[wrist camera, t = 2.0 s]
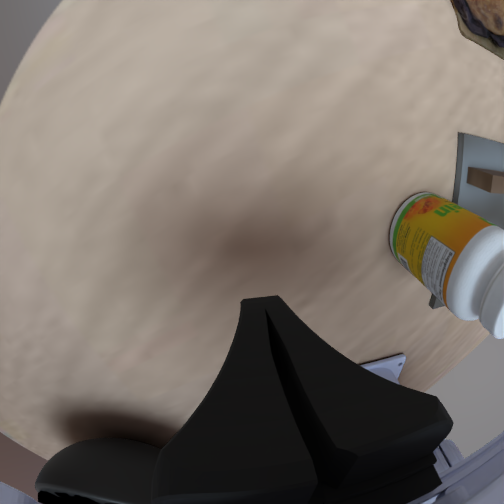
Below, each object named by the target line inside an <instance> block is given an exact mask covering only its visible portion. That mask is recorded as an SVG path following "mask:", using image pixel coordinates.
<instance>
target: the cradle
mask: <svg viewBox="0 0 504 504" xmlns="http://www.w3.org/2000/svg"><path fill="white" fill-rule="evenodd" d="M453 203H455V204H457V205H459V206H461V207H463V208H464V209H466V210H468V211H470V212H472V213H474V214H476V215H478V216H480V217H482V218H484V219H485V220H487V221H489V222H491V223H493V224H495V225H497V226H498V227H500V228H501V229H503V230H504V144H503V143H499V142H496V141H492V140H488V139H485V138H481V137H477V136H473V135H469V134H464V133H459V132H458V153H457V167H456V177H455V186H454V194H453ZM429 306H430V307H431V308H432V309H435V308H439V307H442V306H445V305H444V304H443V303H442V302H441V301H440V300H439V299H438V298H437V297H436V296H435V295H434V294H432V297H431V301H430V304H429Z"/></svg>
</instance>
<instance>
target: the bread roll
mask: <svg viewBox="0 0 504 504" xmlns="http://www.w3.org/2000/svg"><path fill="white" fill-rule="evenodd" d="M451 1H452V3H453V8H454V10H455V14H456V16H457V21H458V26H459V30H460V32H461V34H462V35H463V36H464V37H465V38H467V39H469V40H471V41H473V42H475V43H476V44H479V45H480V46H482V47H484V48H485V49H487V50H489V51H491V52H492V53H494V54H495V55H497V56H498V57H500V58H501V59H503V60H504V0H451Z"/></svg>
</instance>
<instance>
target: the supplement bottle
mask: <svg viewBox="0 0 504 504" xmlns="http://www.w3.org/2000/svg"><path fill="white" fill-rule="evenodd" d="M390 246H391V249H392V252H393V254H394V256H395V258H396V259H397V260H398V261H399V262H400V263H401V264H402V265H403V266H404V267H405V268H406V269H407V270H408V271H409V272H410V273H411V274H413V275H414V276H415V277H416V278H417V279H418V280H419V281H420V282H421V283H422V284H423V285H424V286H425V287H426V288H427V289H429V290H430V291H431V292H432V293H433V294H434V295H435V296H436V297H437V298H438V299H439V300H440V301H441V302H442V303H443V304H444V305H445V306H446V307H447V308H448V309H449V310H450V311H451V312H452V313H453V314H454V315H455V316H457V317H458V318H460V319H462V320H467V321H471V320H476V319H479V320H480V322H481V323H482V325H483V327H484V328H485V329H487V330H488V331H489V332H490V333H491V334H492V335H493V336H494V337H495V338H497V339H502V338H504V230H503V229H501V228H500V227H498V226H497V225H495V224H493V223H491V222H489V221H487V220H485V219H484V218H482V217H480V216H478V215H476V214H474V213H472V212H470V211H468V210H466V209H464V208H463V207H461V206H459V205H457V204H455V203H453V202H451V201H448V200H446V199H444V198H442V197H440V196H438V195H435V194H433V193H428V192H424V193H419V194H416V195H414V196H412V197H410V198H409V199H408V200H406V201H405V202H404V203H403V204H402V206H401V207H400V208H399V210H398V211H397V213H396V215H395V217H394V219H393V222H392V225H391V230H390Z"/></svg>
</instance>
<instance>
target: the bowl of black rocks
mask: <svg viewBox="0 0 504 504" xmlns="http://www.w3.org/2000/svg"><path fill="white" fill-rule="evenodd" d="M160 451H161V449H159V448H157V447H155V446H152V445H149V444H146V443H142V442H138V441H134V440H129V439H122V438H96V439H89V440H85V441H81V442H78V443H75V444H72V445H70V446H68V447H66V448H64V449H63V450H61V451H60V452H58V453H57V454H55V455H54V456H53V457H52V458H51V459H50V460H49V461H48V462H47V463H46V464H45V466H44V467H43V468H42V470H41V472H40V473H39V475H38V478H37V480H36V482H35V489H36V490H37V492H38V502H39V503H42V504H151V489H152V478H153V473H154V469H155V465H156V462H157V459H158V456H159V453H160Z"/></svg>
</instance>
